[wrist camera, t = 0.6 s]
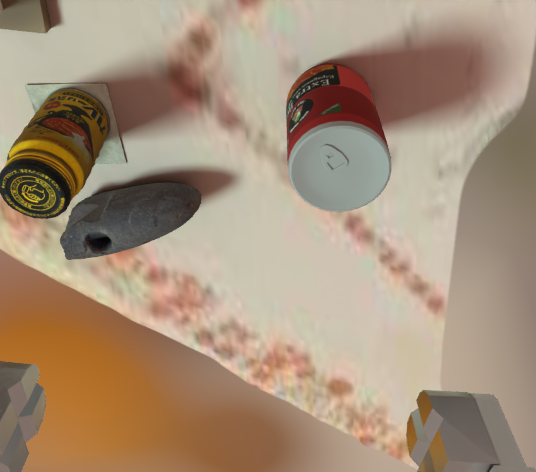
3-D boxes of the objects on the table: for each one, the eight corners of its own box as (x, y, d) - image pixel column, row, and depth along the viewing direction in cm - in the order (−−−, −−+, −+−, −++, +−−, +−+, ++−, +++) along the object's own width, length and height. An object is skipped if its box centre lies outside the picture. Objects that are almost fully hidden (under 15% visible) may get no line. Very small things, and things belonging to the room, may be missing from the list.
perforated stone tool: (196, 161, 50) (186, 205, 45) (213, 202, 53) (206, 246, 48) (62, 191, 53) (38, 235, 48) (86, 227, 56) (67, 272, 51)
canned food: (324, 42, 42) (336, 104, 34) (390, 97, 45) (415, 166, 37) (268, 107, 46) (266, 178, 38) (332, 154, 49) (343, 227, 41)
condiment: (106, 82, 45) (64, 156, 36) (126, 162, 50) (94, 244, 41) (25, 83, 45) (-37, 158, 36) (54, 163, 50) (7, 244, 41)
